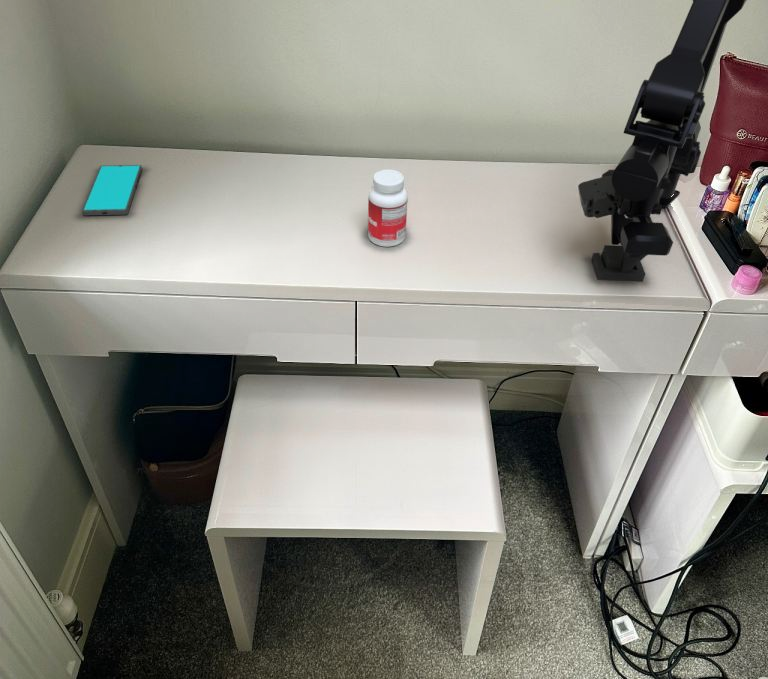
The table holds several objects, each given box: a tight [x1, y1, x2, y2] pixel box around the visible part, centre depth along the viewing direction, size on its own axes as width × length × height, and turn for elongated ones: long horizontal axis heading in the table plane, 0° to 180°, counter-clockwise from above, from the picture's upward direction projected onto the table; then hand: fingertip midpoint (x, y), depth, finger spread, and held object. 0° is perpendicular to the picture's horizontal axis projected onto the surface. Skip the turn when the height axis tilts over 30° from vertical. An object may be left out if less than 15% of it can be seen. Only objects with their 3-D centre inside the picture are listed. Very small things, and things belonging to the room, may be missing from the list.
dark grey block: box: [600, 244, 634, 270], centre depth 109 cm, size 4×4×3 cm
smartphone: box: [81, 164, 143, 216], centre depth 122 cm, size 7×1×15 cm
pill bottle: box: [367, 168, 409, 248], centre depth 111 cm, size 6×6×11 cm
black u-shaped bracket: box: [590, 252, 646, 282], centre depth 109 cm, size 5×7×2 cm
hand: (619, 257), depth 109 cm, fingers open, 6 cm apart
